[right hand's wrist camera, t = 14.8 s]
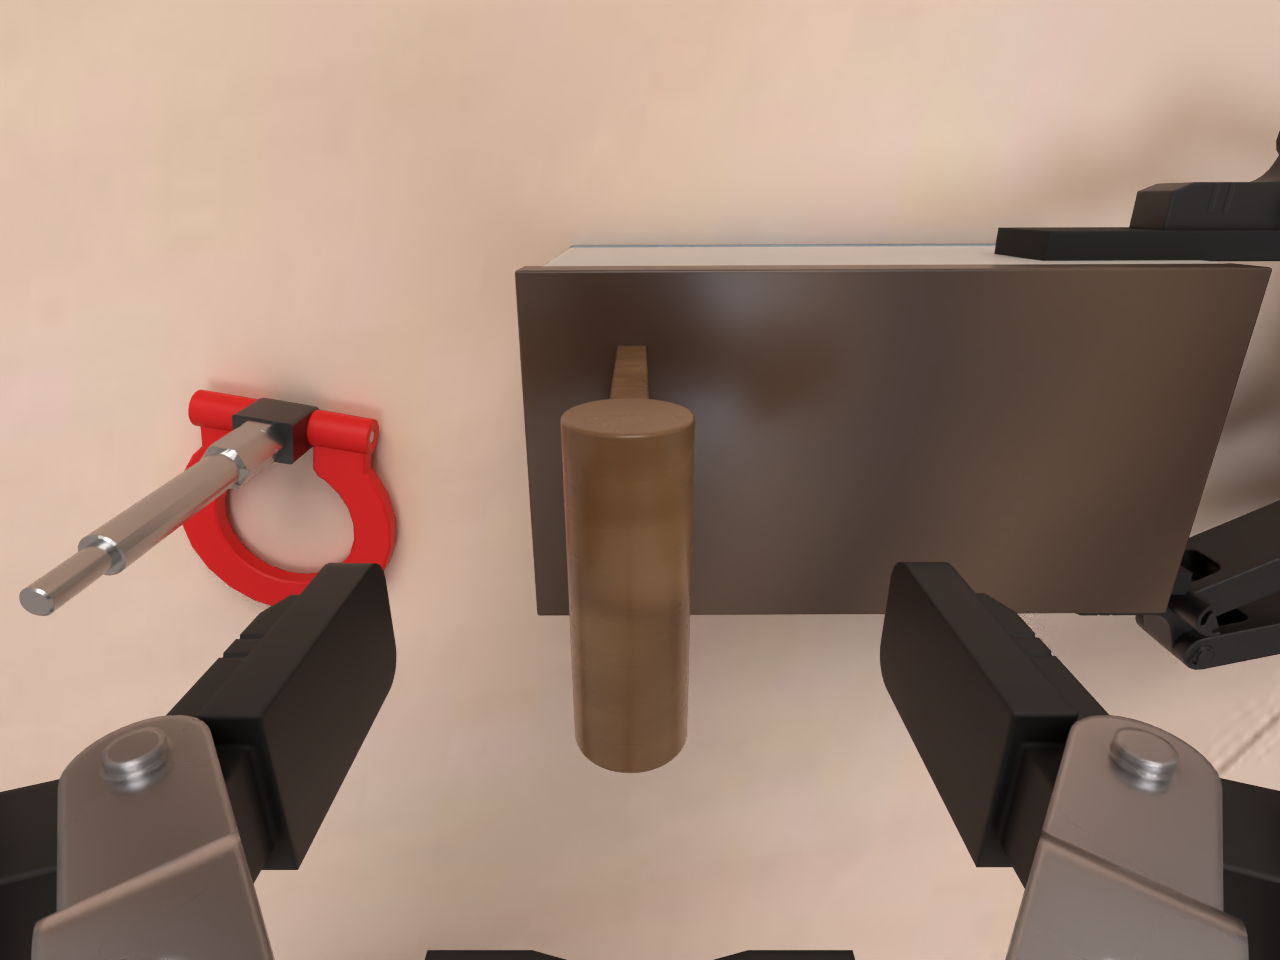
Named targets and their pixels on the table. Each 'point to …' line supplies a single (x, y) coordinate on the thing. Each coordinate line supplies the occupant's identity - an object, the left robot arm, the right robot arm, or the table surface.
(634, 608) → the lid
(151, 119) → the table surface
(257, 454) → the tow hook
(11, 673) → the table surface
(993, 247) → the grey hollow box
